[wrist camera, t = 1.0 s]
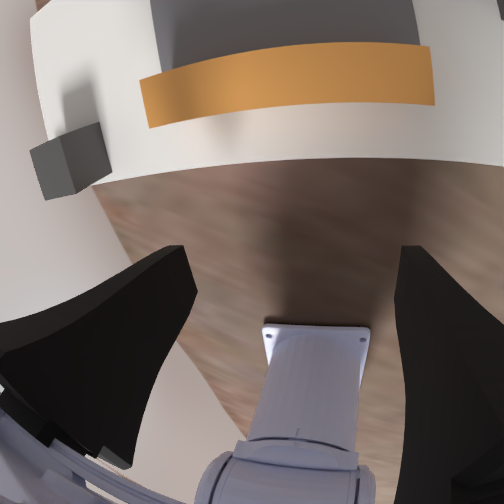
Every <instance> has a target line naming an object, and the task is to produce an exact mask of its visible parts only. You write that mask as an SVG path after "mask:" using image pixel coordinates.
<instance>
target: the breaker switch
mask: <svg viewBox="0 0 504 504" xmlns="http://www.w3.org/2000/svg"><path fill="white" fill-rule="evenodd" d="M139 83H140V88H141V93H142V98H143V103H144V107H145V112H146V117H147V121H148V126H149V129H151V128H155V127H159V126H163V125H167V124H172V123H176V122H181V121H186V120H191V119H196V118H201V117H207V116H212V115H218V114H224V113H231V112H237V111H244V110H252V109H260V108H269V107H278V106H289V105H302V104H319V103H349V102H373V103H403V104H419V105H431V106H435V95H434V81H433V70H432V61H431V53H430V47H429V46H420V45H410V44H398V43H380V42H333V43H315V44H302V45H291V46H283V47H275V48H267V49H261V50H254V51H248V52H243V53H237V54H232V55H227V56H223V57H218V58H214V59H209V60H205V61H201V62H197V63H193V64H189V65H186V66H182V67H179V68H175V69H172V70H169V71H165V72H162V73H159V74H156V75H153V76H150V77H147V78H144V79H141V80H139Z"/></svg>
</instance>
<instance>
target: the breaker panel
mask: <svg viewBox="0 0 504 504" xmlns="http://www.w3.org/2000/svg"><path fill="white" fill-rule="evenodd" d="M30 28H31V29H30V30H31V42H32V52H33V61H34V69H35V76H36V81H37V88H38V94H39V99H40V104H41V109H42V114H43V118H44V123H45V127H46V131H47V135H48V139H49V141H50V140H52V139H54V138H56V137H58V136H61V135H63V134H66V133H68V132H71V131H74V130H77V129H79V128H82V127H85V126H88V125H91V124H94V123H97V122H100V126H101V130H102V135H103V139H104V142H105V146H106V150H107V154H108V158H109V161H110V165H111V168H112V173H111V174H109V175H107V176H105V177H104V178H102V179H100V180H98V181H97V182H95V183H93V184H92V185H96V184H100V183H105V182H111V181H116V180H121V179H127V178H132V177H138V176H144V175H150V174H157V173H163V172H170V171H177V170H185V169H192V168H200V167H209V166H218V165H227V164H238V163H249V162H261V161H275V160H292V159H315V158H408V159H429V160H445V161H458V162H469V163H479V164H488V165H496V166H504V21H503V20H501V17H500V12H499V8H498V4H497V0H51V1H50V2H49V3H48V4H46V5H45V6H44V7H43V8H42V9H41V10H39V11H38V12H37V13H36V14H35V15H34V16H33V17H32V18H30ZM333 42H380V43H398V44H410V45H420V46H429V47H430V53H431V61H432V70H433V81H434V95H435V106H431V105H419V104H403V103H373V102H349V103H319V104H302V105H289V106H278V107H269V108H260V109H252V110H244V111H237V112H231V113H224V114H218V115H212V116H207V117H201V118H196V119H191V120H186V121H181V122H176V123H172V124H167V125H163V126H159V127H155V128H151V129H149V126H148V121H147V117H146V112H145V107H144V103H143V98H142V93H141V88H140V83H139V80H141V79H144V78H147V77H150V76H153V75H156V74H159V73H162V72H165V71H169V70H172V69H175V68H179V67H182V66H186V65H189V64H193V63H197V62H201V61H205V60H209V59H214V58H218V57H223V56H227V55H232V54H237V53H243V52H248V51H254V50H261V49H267V48H275V47H283V46H291V45H302V44H315V43H333ZM90 186H91V185H90Z"/></svg>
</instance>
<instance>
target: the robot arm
mask: <svg viewBox="0 0 504 504" xmlns="http://www.w3.org/2000/svg"><path fill="white" fill-rule="evenodd" d="M197 292H198V291H197V288H196V284H195V281H194V278H193V275H192V272H191V269H190V266H189V262H188V259H187V256H186V253H185V249H184V246H183V245H169V246H166V247H164V248H162V249H160V250H158V251H156V252H154V253H152V254H150V255H149V256H147V257H145V258H143V259H142V260H140V261H138V262H137V263H135V264H133V265H132V266H130V267H128V268H127V269H125V270H123V271H122V272H120V273H118V274H116V275H115V276H113V277H111V278H109V279H108V280H106V281H104V282H103V283H101V284H99V285H97V286H96V287H94V288H92V289H90V290H88V291H86V292H85V293H83V294H80V295H78V296H76V297H74V298H72V299H70V300H68V301H66V302H63V303H61V304H58V305H56V306H53V307H51V308H49V309H46V310H44V311H41V312H38V313H35V314H32V315H29V316H26V317H22V318H19V319H16V320H11V321H7V322H2V323H0V384H1V385H2V386H3V388H5V389H4V391H3V392H2V393H1V392H0V504H117V503H115V502H113V501H111V500H109V499H107V498H105V497H103V496H101V495H99V494H97V493H95V492H94V491H92V490H90V489H88V488H87V487H86V482H85V480H87V481H88V482H90V483H92V484H93V485H95V486H97V487H98V488H100V489H102V490H104V491H105V492H107V493H109V494H111V495H113V496H114V497H116V498H118V499H120V500H122V501H124V502H126V503H128V504H185V503H182V502H180V501H177V500H174V499H172V498H169V497H166V496H164V495H161V494H158V493H156V492H154V491H151V490H149V489H147V488H144V487H142V486H140V485H137V484H135V483H133V482H131V481H129V480H127V479H125V478H123V477H121V476H119V475H116V474H115V473H113V472H111V471H109V470H107V469H105V468H103V467H101V466H99V465H98V464H96V463H94V462H92V461H91V460H89V459H87V458H86V457H85V455H86V454H88V455H89V456H91V457H93V458H97V457H99V458H101V459H103V460H105V461H106V462H109V463H110V464H112V465H114V466H116V467H118V468H120V469H123V470H125V469H129V468H131V467H132V464H133V457H134V452H135V447H136V441H137V437H138V433H139V429H140V425H141V422H142V417H143V414H144V411H145V408H146V405H147V402H148V399H149V396H150V393H151V390H152V388H153V385H154V383H155V380H156V378H157V375H158V372H159V370H160V368H161V366H162V364H163V362H164V360H165V358H166V357H167V355H168V353H169V351H170V349H171V347H172V345H173V344H174V342H175V340H176V338H177V337H178V335H179V333H180V331H181V329H182V327H183V326H184V324H185V322H186V320H187V318H188V316H189V314H190V311H191V309H192V306H193V304H194V301H195V298H196V295H197ZM394 303H395V318H396V328H397V334H398V340H399V347H400V353H401V360H402V367H403V374H404V382H405V395H406V407H405V431H404V443H403V453H402V461H401V468H400V475H399V481H398V486H397V491H396V495H395V500H394V504H504V325H503V324H502V323H501V322H500V321H499V320H498V319H496V318H495V317H494V316H493V315H492V314H490V313H489V312H488V311H487V310H486V309H485V308H484V307H482V306H481V305H480V304H479V303H478V302H477V301H476V300H475V299H474V298H473V297H472V296H471V295H470V294H469V293H468V292H467V291H465V290H464V289H463V288H462V287H461V286H460V285H459V284H458V283H457V282H456V281H455V280H454V279H453V278H452V277H451V276H450V275H449V274H448V273H447V272H446V271H445V270H444V269H443V267H442V266H441V265H440V264H439V263H438V262H437V261H436V260H435V259H434V258H433V257H432V256H431V255H430V254H429V253H428V252H427V251H426V250H424V249H423V248H422V247H421V246H402V249H401V257H400V264H399V271H398V278H397V284H396V290H395V296H394ZM262 334H263V339H264V344H265V349H266V355H267V360H268V365H269V367H268V370H267V374H266V377H265V381H264V384H263V388H262V391H261V394H260V398H259V401H258V404H257V408H256V411H255V414H254V417H253V421H252V424H251V427H250V430H249V433H248V437H247V440H246V441H240V440H239V441H237V444H236V447H235V450H234V452H231V451H227V452H224V453H222V454H221V455H220V456H219V457H217V458H215V459H214V460H213V461H212V462H211V463H210V464H209V465H208V467H207V468H206V470H205V472H204V474H203V475H202V478H201V480H200V482H199V485H198V488H197V492H196V496H195V501H194V504H374V503H375V492H376V483H375V476H374V474H373V473H372V472H371V471H370V470H369V468H368V467H367V466H366V465H358V457H359V453H358V452H354V451H355V442H356V431H357V419H358V404H359V389H360V385H361V380H362V376H363V371H364V366H365V362H366V357H367V351H368V346H369V341H370V329H369V328H366V327H328V326H303V325H284V324H264V325H263V328H262ZM270 334H271V335H270ZM362 338H363V339H362ZM357 465H358V466H357Z"/></svg>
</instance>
